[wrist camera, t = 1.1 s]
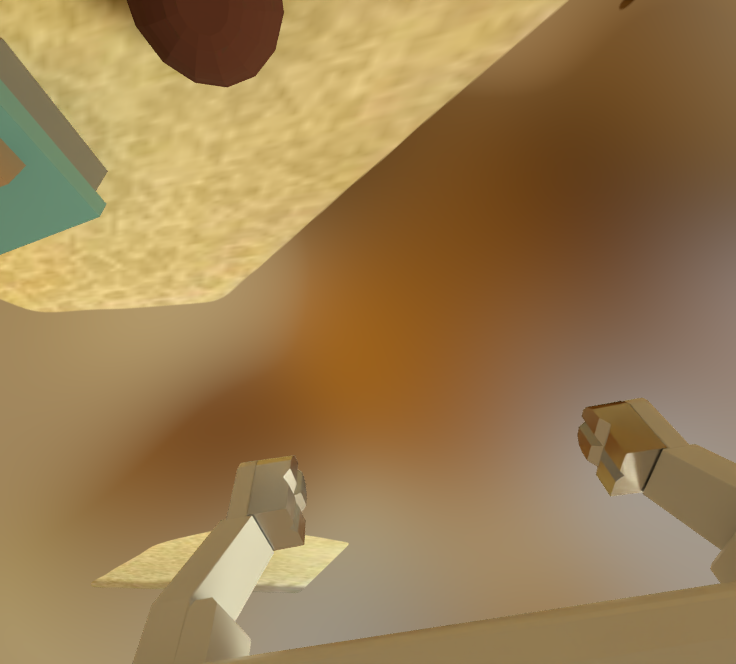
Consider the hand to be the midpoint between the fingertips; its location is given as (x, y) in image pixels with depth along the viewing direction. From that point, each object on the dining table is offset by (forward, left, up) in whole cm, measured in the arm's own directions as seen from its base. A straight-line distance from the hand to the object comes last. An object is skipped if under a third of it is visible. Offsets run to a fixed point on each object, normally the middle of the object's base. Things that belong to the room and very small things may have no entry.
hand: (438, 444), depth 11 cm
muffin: (-9, -5, -42) cm, 43 cm away
